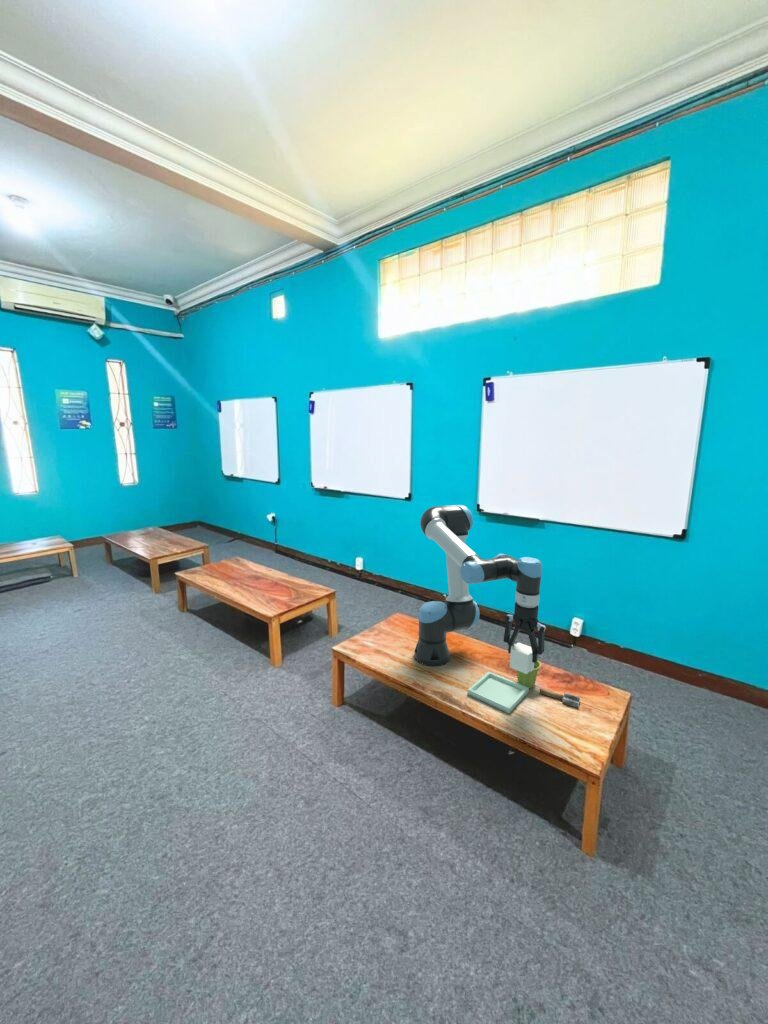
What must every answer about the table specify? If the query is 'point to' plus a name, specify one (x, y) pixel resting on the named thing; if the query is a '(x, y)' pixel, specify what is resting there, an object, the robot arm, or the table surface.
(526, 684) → the plant pot
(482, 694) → the tray
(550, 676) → the table surface
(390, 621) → the table surface
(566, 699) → the scoop
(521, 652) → the block
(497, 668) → the table surface
